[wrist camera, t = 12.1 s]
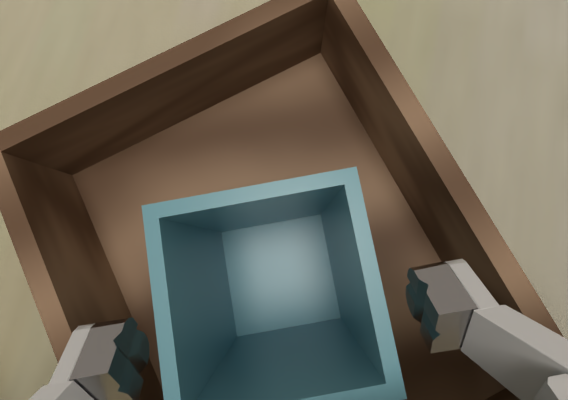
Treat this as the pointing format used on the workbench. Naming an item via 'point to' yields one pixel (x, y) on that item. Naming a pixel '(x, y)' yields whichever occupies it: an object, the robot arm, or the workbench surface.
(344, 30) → the walnut crate
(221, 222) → the teal crate
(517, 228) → the workbench surface
